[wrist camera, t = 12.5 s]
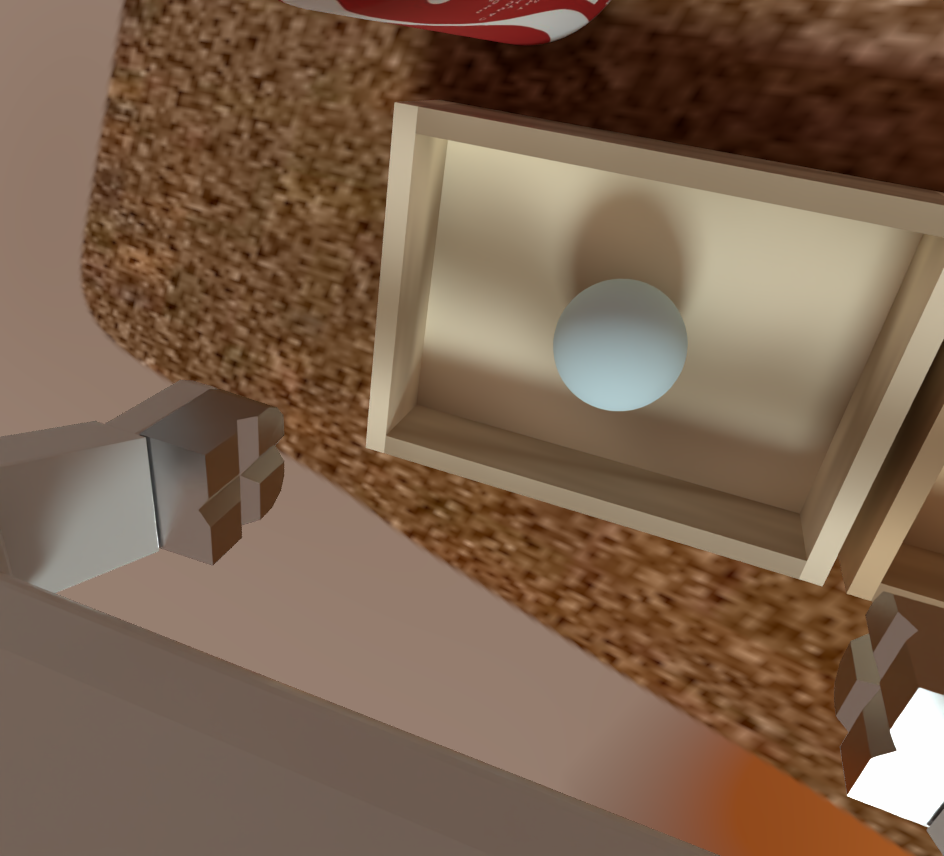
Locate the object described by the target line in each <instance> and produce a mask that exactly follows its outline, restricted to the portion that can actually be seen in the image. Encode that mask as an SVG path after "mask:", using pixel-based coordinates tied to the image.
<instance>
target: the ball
mask: <svg viewBox="0 0 944 856" xmlns="http://www.w3.org/2000/svg"><path fill="white" fill-rule="evenodd" d="M687 347H688V340H687V332H686V327H685V324H684V321H683V318H682V316H681V314H680V312H679V310H678V309H677V307H676V306H675V304H674V303H673V302H672V301H671V300H670V299H669V297H667V296H666V295H665V294H664V293H663V292H662V291H660V290H658V289H657V288H655V287H654V286H651V285H649V284H647V283H644V282H641V281H638V280H632V279H611V280H606V281H602V282H599V283H597V284H594V285H592V286H590V287H588V288H586V289H585V290H583V291H582V292H580V293H579V294H578V295H577V296H576V297H575V298H573V299H572V301H571V302H570V303H569V304H568V305H567V307H566V308H565V309H564V311H563V313H562V314H561V316H560V318H559V320H558V323H557V326H556V329H555V333H554V339H553V353H554V360H555V364H556V367H557V370H558V372H559V375H560V377H561V378H562V380H563V382H564V383H565V385H566V386H567V387H568V388H569V389H570V391H571V392H572V393H573V394H575V395H576V396H577V397H578V398H579V399H581V400H582V401H584V402H586V403H587V404H589V405H591V406H594V407H597V408H599V409H604V410H609V411H628V410H634V409H638V408H641V407H644V406H646V405H649V404H650V403H652V402H654V401H656V400H657V399H659V398H660V397H661V396H663V395H664V394H665V393H666V392H667V391H668V390H669V389H670V388H671V387H672V385H673V384H674V383H675V381H676V380H677V379H678V377H679V375H680V373H681V371H682V369H683V366H684V364H685V360H686V355H687Z"/></svg>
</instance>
